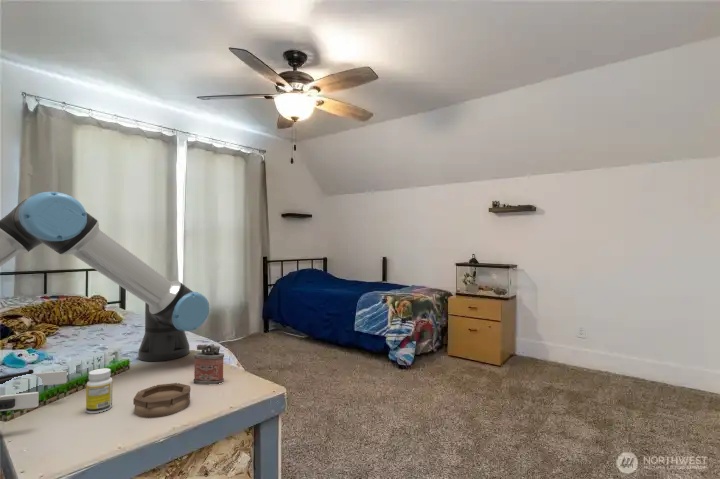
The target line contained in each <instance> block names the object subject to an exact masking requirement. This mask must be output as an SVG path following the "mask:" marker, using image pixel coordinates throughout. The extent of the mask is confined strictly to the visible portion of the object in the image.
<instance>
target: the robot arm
mask: <svg viewBox="0 0 720 479" xmlns="http://www.w3.org/2000/svg"><path fill="white" fill-rule="evenodd" d="M40 245H45V246H46V247H48V248H49V249H51V250H53V251H54V252H56V253H58V254H59V255H60V256H67V255H72V256H74V257H75V258H77V259H79V260H80V261H82V263H85V264H87V265H88V266H89V267H91V268H92V269H94V270H95V271H96V272H98V273H100V274H101V275H103V276H105V277H106V278H107V279H109V280H111V281H112V282H114V283H115V284H117V285H118V286H120V287H121V288H122V289H124V290H126V291H127V292H129V294H130V293H131V294H132V295H133V296H135V297H136V298H138V299H140V300H141V301H142V302H143V303H145V306H144V308H145V310H144V312H145V313H144V335H143V338H142V341H141V343H140V346H139V348H138V350H137V353H138V354H137V359H138V360H141V361H144V362H162V361H163V362H164V361H170V360H176V359H179V358H182V357H185V356H187V355H188V354H190V343H189V341H188V340H189V339H188V338H187V335H186V332H192V331H195V330H197V329H199V328H200V327H202V326H203V325H204V323H205V322H206V320H207V319H208V317H209V314H210V304H209V301H208V300H209V299H208V298H207V297H206V296H204V295H203V294H202V293H200V292H197V291H193V290H191V289H190V288H189V287H188V286H186V285H185V284H183V283H182V282H180V281H179V280H173V281H171V280H169V279H167V278H166V277H165V276H163V275H162V274H160V273H159V272H158V271H157V270H155V269H154V268H152V267H151V266H150V265H148V264H147V263H146V262H144V261H143V260H141V259H140V258H139V257H137V255H135V254H133V253H132V252H130V251H129V250H128V249H126V247H124V246H123V245H121V244H120V243H119V242H117V241H116V240H114V239H113V238H112V237H110V236H109V235H108V234H106V232H105V233H104V231H102V230H101V228H100V224H99V220H98V219H97V218H95V217H94V216H93V215H92V214H90V213H88V212H87V211H86V209H85V208H84V206H83V204H82V203H81V202H80V201H79V200H78V199H76V198H75V197H73V196H71V195H69V194H66V193H63V192H57V191H44V192H39V193H35V194H33V195H31V196H30V197H28V198H26V199H24V200H23V201H21V202H19V204H17V206H16V207H14V208H13V209H12V210H10V211H9V213H7V215H5V216H3V217H2V218H1V219H0V267H2V266H3V265H5V264H6V263H7V262H10V261H11V260H12V259H14V258H15V257H16V256H17V255H20V254H28V253H29V252H30V251H32V250H33V249H34V248H37V247H38V246H40ZM34 372H35V371H34V369H28V371H23V372H16V373H11V374H6V375H0V384H3V383H5V382H6V381H9V380H11V379H12V378H14V377H18V376H22V375H26V374H31V375H36V376H38V377H40V378H41V379H42V383H43V386H52V385H61V384H63V385H65V384H66V383H67V382H68V374H67V373H68V370H57V371H55V370H54V371H46V372H45V371H43V372H35V373H34ZM39 393H40V392H39V391H32V392H23V393H15V394H13V393H12V394H5V395H0V412H5V411H14V410H24V409H33V408H37V407H39V402H40V401H39V398H40V394H39Z"/></svg>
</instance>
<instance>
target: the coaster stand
mask: <svg viewBox="0 0 720 479" xmlns="http://www.w3.org/2000/svg"><path fill="white" fill-rule="evenodd" d="M132 400H133V401H132V402H133V405H134V414H135V415H136V416H138V417H140V418H150V419H151V418H161V417H165V416H166V417H167V416H171V415H173V414H176V413H179V412H181V411H183V410H185V409H186V408H188V407H189V406H190V404H191V385H188V384H184V383H179V382H173V383H172V382H171V383H164V384H156V385H152V386H149V387H147V388H145V389H141V390H140V391H137V392H136V394H135V396H134V397H133V399H132Z"/></svg>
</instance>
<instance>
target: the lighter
mask: <svg viewBox="0 0 720 479" xmlns="http://www.w3.org/2000/svg"><path fill="white" fill-rule="evenodd" d="M220 348H221V346H220V345H215V344H213V343H211V344H198V345H197V346H196V350H197V351H200V352H195V353H194V354H193V358H194V373H193V374H194V375H193V376H194V378H193V384H195V385H207V386H210V385H209V384H219V383H222V382H225V380H224V379H225V378H224V358H225V353H222V352H220V350H221V349H220ZM222 384H223V383H222ZM219 385H220V384H219Z"/></svg>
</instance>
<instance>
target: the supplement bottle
mask: <svg viewBox="0 0 720 479" xmlns="http://www.w3.org/2000/svg"><path fill="white" fill-rule="evenodd" d="M111 373H112V371H111V368H107V367H106V368H97V369H93V370H90V371H89V372H88V381H87V382H86V390H85V391H86V395H85V396H86V397H85V398H86V400H85V401H86V403H85V410H86V411H85V412H86V413H87V414H100V413H103V411H104V412H106V410H107V411H109V410H110V409H111V408H112V407H113V383H114V382H113V378H112V377H111ZM99 412H100V413H99Z"/></svg>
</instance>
